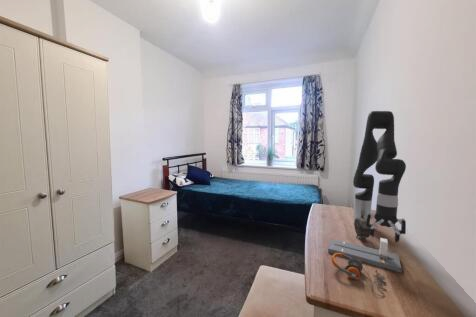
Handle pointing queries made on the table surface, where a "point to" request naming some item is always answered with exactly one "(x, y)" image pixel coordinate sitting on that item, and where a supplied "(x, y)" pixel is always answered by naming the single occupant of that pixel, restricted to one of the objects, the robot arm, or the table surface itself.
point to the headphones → (355, 269)
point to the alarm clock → (361, 227)
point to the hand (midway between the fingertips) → (383, 238)
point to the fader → (383, 248)
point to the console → (365, 254)
